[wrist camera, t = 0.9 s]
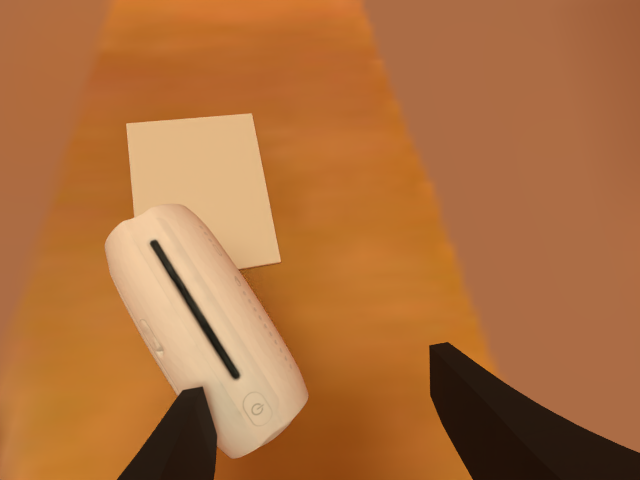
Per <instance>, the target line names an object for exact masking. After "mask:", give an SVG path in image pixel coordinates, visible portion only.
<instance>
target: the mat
mask: <svg viewBox="0 0 640 480" xmlns="http://www.w3.org/2000/svg"><path fill="white" fill-rule="evenodd" d="M126 126H127V137H128V149H129V160H130V171H131V183H132V194H133V206H134V217H137V216H139V215H141V214H143V213H144V212H146V211H147V210H148V209H150V208H151V207H154V206H158V205H163V204H172V203H173V204H180V205H184V206H186V207H187V208H188V209H190V210H191V211H192V212H193V213H194V214H195V215H197V216H198V217H199V218H200V219H201V220H202V221H203V223H204V224H205V225H206V226H207V227H208V228H209V229H210V231H211V232H212V233H213V235H214V236H215V238H216V239H217V240H218V242H219V243H220V244H221V246H222V247H223V249H224V250H225V251H226V253H227V254H228V256H229V257H230V258H231V260H232V261H233V263H234V264H235V266H236V267H237V269H238V270H242V269H248V268H253V267H259V266H265V265H271V264H277V263H281V259H280V254H279V249H278V244H277V239H276V234H275V229H274V224H273V219H272V214H271V208H270V203H269V198H268V193H267V188H266V183H265V178H264V173H263V168H262V163H261V158H260V152H259V147H258V142H257V137H256V132H255V127H254V122H253V117H252V114H240V115H227V116H215V117H202V118H190V119H177V120H165V121H152V122H140V123H127V124H126Z"/></svg>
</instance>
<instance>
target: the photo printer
mask: <svg viewBox="0 0 640 480" xmlns="http://www.w3.org/2000/svg"><path fill="white" fill-rule="evenodd" d="M105 251H106V257H107V261H108V265H109V271H110V274H111V277H112V279H113V281H114V284H115V286H116V288H117V290H118V292H119V294H120V297H121V299H122V300H123V302H124V304H125V306H126V308H127V310H128V312H129V314H130V316H131V318H132V320H133V322H134V324H135V325H136V327H137V329H138V331H139V333H140V335H141V336H142V338H143V340H144V342H145V343H146V345H147V347H148V349H149V351H150V352H151V354H152V356H153V357H154V359H155V361H156V362H157V364H158V366H159V367H160V369H161V370H162V372H163V374H164V375H165V377H166V379H167V380H168V382H169V383H170V385H171V387H172V388H173V389H174V391H175V393H176V394H177V396H179V394H180V393H181V392H182V390H185V389H191V388H197V387H202V386H203V389H204V393H205V396H206V399H207V403H208V406H209V409H210V413H211V416H212V419H213V423H214V426H215V429H216V433H217V447H218V448H220V449H221V450H222V451H223V452H224V453H225V454H226V455H227V456H229V457H230V458H240V457H242V456H244V455H246V454H248V453H250V452H252V451H254V450H256V449H257V448H259V447H260V446H263V445H265V444H267V443H268V442H270V441H272V440H273V439H274V438H275V437H277V436H278V435H279V434H280V433H281V432H282V431H283V430H284V429H286V428H287V427H288V426H289V425H290V423H291V421H292V420H293V418H295V417H296V415H297V414H298V413H299V412H300V411H301V409H302V408H303V407H304V405H305V404H306V402H307V400H308V392H307V389H306V386H305V383H304V380H303V377H302V375H301V373H300V370H299V368H298V366H297V364H296V362H295V360H294V359H293V357H292V355H291V353H290V351H289V350H288V348H287V346H286V344H285V343H284V341H283V339H282V338H281V336H280V334H279V333H278V331H277V329H276V328H275V326H274V324H273V323H272V321H271V319H270V318H269V316H268V315H267V313H266V311H265V310H264V308H263V307H262V305H261V303H260V302H259V300H258V299H257V297H256V296H255V294H254V293H253V291H252V290H251V288H250V286H249V285H248V283H247V282H246V280H245V279H244V277H243V276H242V274H241V273H240V271H239V270H238V269H237V267H236V266H235V264H234V263H233V261H232V260H231V258H230V257H229V256H228V254H227V253H226V251H225V250H224V249H223V247H222V246H221V244H220V243H219V242H218V240H217V239H216V238H215V236H214V235H213V233H212V232H211V231H210V229H209V228H208V227H207V226H206V225H205V224H204V223H203V221H202V220H201V219H200V218H199V217H198V216H197V215H195V214H194V213H193V212H192V211H191V210H190V209H188V208H187V207H186V206H184V205H180V204H173V203H172V204H163V205H158V206H154V207H151V208H150V209H148V210H147V211H146V212H144V213H143V214H141V215H139V216H137V217H135V218H132V219H129V220H126V221H123V222H121V223H120V224H119V225H118V226H117V227H116V228H115V229H114V230H113V231H112V232H111V234H110V235H109V236H108V238H107V240H106V243H105Z"/></svg>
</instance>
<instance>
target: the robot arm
mask: <svg viewBox="0 0 640 480" xmlns="http://www.w3.org/2000/svg"><path fill="white" fill-rule="evenodd" d="M429 349H430V396H431V398H432V401H433V403H434V406H435V408H436V410H437V413H438V415H439V418H440V420H441V422H442V425H443V427H444V428H445V430H446V432H447V434H448V436H449V438H450V439H451V441H452V443H453V445H454V447H455V448H456V450H457V452H458V454H459V456H460V457H461V459H462V461H463V463H464V464H465V466H466V468H467V470H468V472H469V473H470V475H471V477H472V479H473V480H640V453H638V452H636V451H633V450H631V449H628V448H626V447H624V446H621V445H619V444H617V443H615V442H613V441H610V440H608V439H606V438H604V437H602V436H599V435H597V434H595V433H593V432H590V431H588V430H587V429H584V428H582V427H580V426H578V425H576V424H574V423H572V422H571V421H569V420H567V419H565V418H563V417H561V416H559V415H557V414H556V413H554V412H552V411H550V410H548V409H546V408H545V407H543V406H541V405H539V404H538V403H536V402H534V401H533V400H531V399H530V398H528V397H526V396H525V395H523V394H521V393H520V392H518V391H517V390H515V389H513V388H512V387H510V386H509V385H507V384H506V383H504V382H503V381H501V380H500V379H498V378H497V377H496V376H494V375H493V374H491V373H490V372H488V371H487V370H485V369H484V368H483V367H481V366H480V365H478V364H477V363H476V362H474V361H473V360H472V359H470V358H469V357H468V356H466V355H465V354H463V353H462V352H461V351H459V350H458V349H457V348H455V347H454V346H453V345H451V344H450V343H448V342H446V343H440V344H435V345H429ZM216 450H217V433H216V429H215V426H214V423H213V419H212V416H211V413H210V409H209V406H208V403H207V399H206V396H205V393H204V389H203V386H202V387H197V388H191V389H185V390H182V392H181V393H180V394H179V396H178V397H177V398H176V400H175V401H174V403H173V404H172V406H171V407H170V409H169V410H168V411H167V413H166V414H165V416H164V417H163V419H162V420H161V422H160V423H159V424H158V426H157V427H156V429H155V430H154V431H153V433H152V434H151V436H150V437H149V438H148V440H147V441H146V442H145V444H144V445H143V447H142V448H141V449H140V451H139V452H138V453H137V455H136V456H135V457H134V459H133V460H132V461H131V462H130V464H129V465H128V466H127V467H126V469H125V470H124V471H123V472H122V474H121V475H120V476H119V477H118V479H117V480H213V479H214V473H215V464H216Z"/></svg>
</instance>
